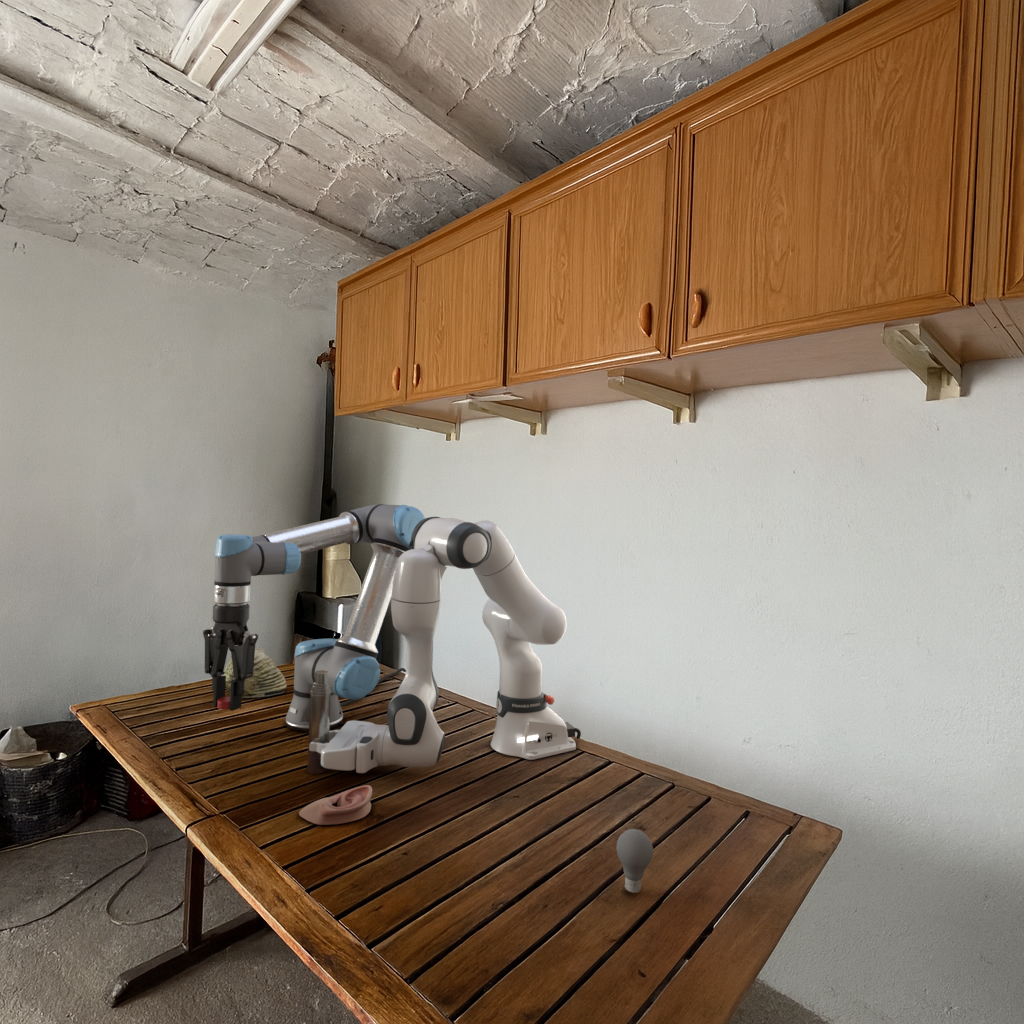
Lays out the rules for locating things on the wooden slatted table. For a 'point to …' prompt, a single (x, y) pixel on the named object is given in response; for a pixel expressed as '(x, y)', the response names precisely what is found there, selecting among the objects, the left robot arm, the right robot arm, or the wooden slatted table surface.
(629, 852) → the light bulb
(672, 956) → the wooden slatted table surface
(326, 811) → the anatomical model
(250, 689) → the fossil
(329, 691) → the bottle
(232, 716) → the wooden slatted table surface
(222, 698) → the cap
